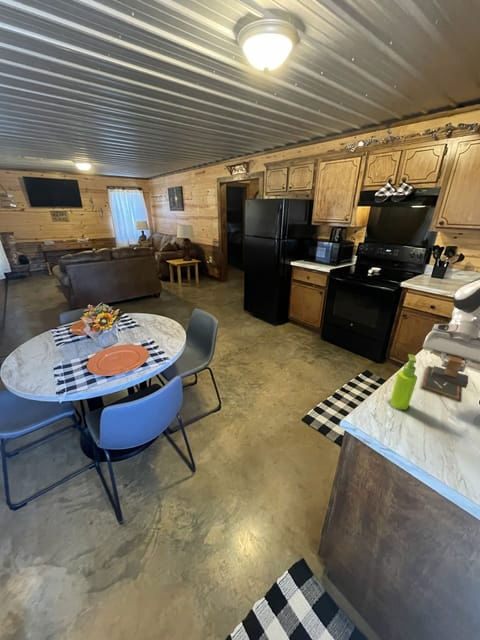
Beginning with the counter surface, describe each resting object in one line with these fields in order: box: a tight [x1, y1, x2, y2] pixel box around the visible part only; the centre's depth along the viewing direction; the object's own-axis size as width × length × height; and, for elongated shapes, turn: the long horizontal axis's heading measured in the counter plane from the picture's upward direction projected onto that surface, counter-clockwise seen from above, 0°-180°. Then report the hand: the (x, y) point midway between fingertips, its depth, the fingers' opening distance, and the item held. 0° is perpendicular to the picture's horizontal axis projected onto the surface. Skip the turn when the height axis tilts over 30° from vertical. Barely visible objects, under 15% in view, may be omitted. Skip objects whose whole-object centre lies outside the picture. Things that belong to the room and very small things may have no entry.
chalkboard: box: [421, 365, 461, 401], centre depth 111 cm, size 20×12×1 cm, turn 141°
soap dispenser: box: [389, 353, 418, 411], centre depth 95 cm, size 6×7×20 cm
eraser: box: [431, 355, 469, 389], centre depth 92 cm, size 10×5×8 cm, turn 51°
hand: (452, 368), depth 92 cm, fingers closed on eraser, 3 cm apart
